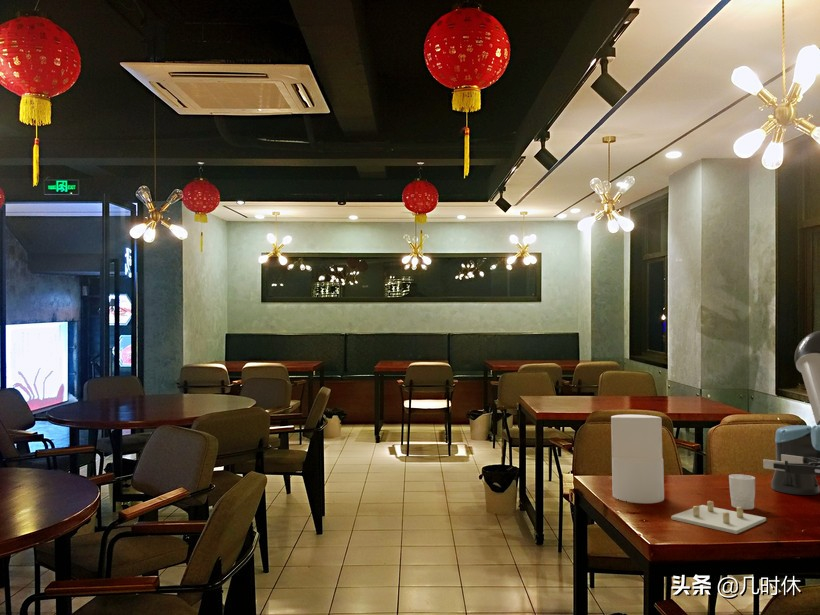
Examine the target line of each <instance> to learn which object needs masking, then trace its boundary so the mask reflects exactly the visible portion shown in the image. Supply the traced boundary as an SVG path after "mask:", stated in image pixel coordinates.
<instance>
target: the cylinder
mask: <svg viewBox="0 0 820 615" xmlns="http://www.w3.org/2000/svg"><path fill="white" fill-rule="evenodd" d="M662 420H663V419H662V417H661V416H657V415H656V416H655V415H650V414H649V415H647V414H615V415H612V416H610V426H611V427H610V428H611V430H610V431H611V435H610V436H611V473H612V474H611V475H612V476H611V479H612V480H611V481H612V482H611V484H612V497H613V498H614V499H617V500H618V499H619V500H618V501H623V502H626V501H627V503H632V504H633V503H635V504H656V503H661V502H664V501H665V482H664V480H665V478H664V476H665V471H664V458H663V432H662V431H663V426H662V423H663V422H662Z"/></svg>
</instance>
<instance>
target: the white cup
mask: <svg viewBox="0 0 820 615" xmlns="http://www.w3.org/2000/svg"><path fill="white" fill-rule="evenodd" d="M728 482H729V483H728V484H729V494H730V496H729V497H730V502H731V504H730V505H731V507H733V508H734V509H737V507H743V510H753V509H755V498H756V477H755V476H752V475H749V474H743V473H742V474H741V473H738V474H737V473H734V474H733V473H732V474H729V475H728Z"/></svg>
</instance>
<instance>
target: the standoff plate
mask: <svg viewBox="0 0 820 615" xmlns="http://www.w3.org/2000/svg"><path fill="white" fill-rule="evenodd" d="M706 502H707V504H706V505H705V504H701V505H693V506H692V508H690V509H687V510H684V511H682V512H678V513H675V514H673V515H671V516H670V519H671V520H674V521H677V522H681V523H686V524H691V525H695V526H699V527H704V528H709V529H712V530H717V531H720V532H721V531H722V532H727V533H730V534H735V535H737V534H738V535H739V534H740V533H742V532H745V531H747V530H749V529H751V528H754V527H756V526H758V525H761V524H763V523H764V522H767V517H764V516H760V515H756V514H755V515H754V514H749V513H745V512H744V509H743V507H737V508H736V511H734V510H729V509H726V508H719V507H715V505H714V504H715V503H714V501H713V500H712V501H711V500H707V501H706Z"/></svg>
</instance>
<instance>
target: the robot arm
mask: <svg viewBox="0 0 820 615" xmlns="http://www.w3.org/2000/svg"><path fill="white" fill-rule="evenodd" d="M794 365H795V367H796V370H797V371H798V372H799V373H801V375H802V379H803V382H804V383H803V384H804V386H805V389H806V393H807V397H808V400H809V403H810V404H809V405H810V407H811V411H812V415H813V418H814V421H815V424H814V425H813V426H810V425H806V424H805V425H803V424H801V425H800V424H796V425H795V424H793V425H785V426H781V427H778V428H777V429H776V431H775V436H774V437H775V439H774V442H775V460H773V459H763V460H762V461H763V462H762V466H763V469H765V470H768V469H769V470H773V471H774V473H773V477H772V479H771V482H770V483H771V485H770V486H771V489H772V490H774V491H776V492H780V493H783V494H789V495H798V496H799V495H800V496H814V495H819V494H820V485H819V482H818V480H817V478H816V476H820V330H817V331H814V332H812V333H809V334H808V335H806V336H805V337H804V338H802V340H800V342H799V343H798V345H797V346H796V349H795V352H794Z"/></svg>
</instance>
